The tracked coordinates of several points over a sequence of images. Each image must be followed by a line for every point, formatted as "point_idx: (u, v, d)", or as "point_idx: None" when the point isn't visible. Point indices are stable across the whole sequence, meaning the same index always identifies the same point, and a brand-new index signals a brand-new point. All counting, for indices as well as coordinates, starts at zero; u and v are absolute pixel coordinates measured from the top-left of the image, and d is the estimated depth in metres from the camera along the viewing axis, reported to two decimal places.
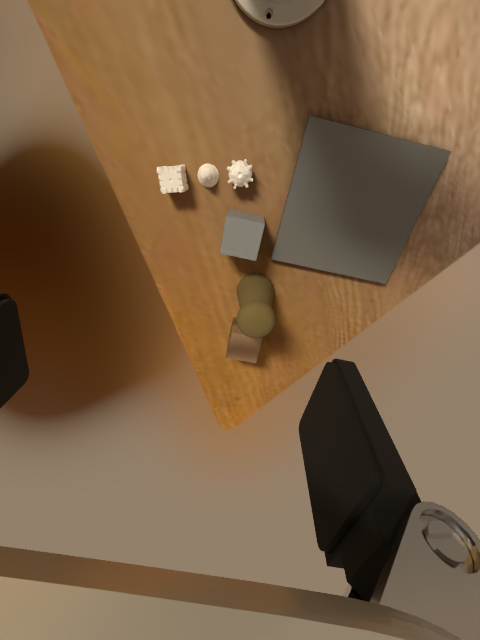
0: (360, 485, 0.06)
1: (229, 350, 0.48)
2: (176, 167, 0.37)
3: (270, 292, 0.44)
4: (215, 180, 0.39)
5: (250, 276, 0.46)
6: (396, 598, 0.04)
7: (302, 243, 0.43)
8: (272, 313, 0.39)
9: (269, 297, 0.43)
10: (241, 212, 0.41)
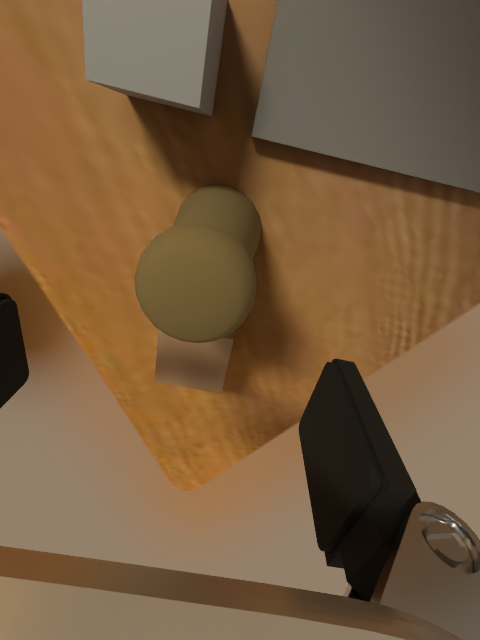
0: (360, 485, 0.06)
1: (159, 366, 0.21)
2: None
3: (249, 223, 0.17)
4: None
5: (202, 189, 0.19)
6: (396, 598, 0.04)
7: (334, 82, 0.16)
8: (245, 262, 0.12)
9: (244, 230, 0.16)
10: None
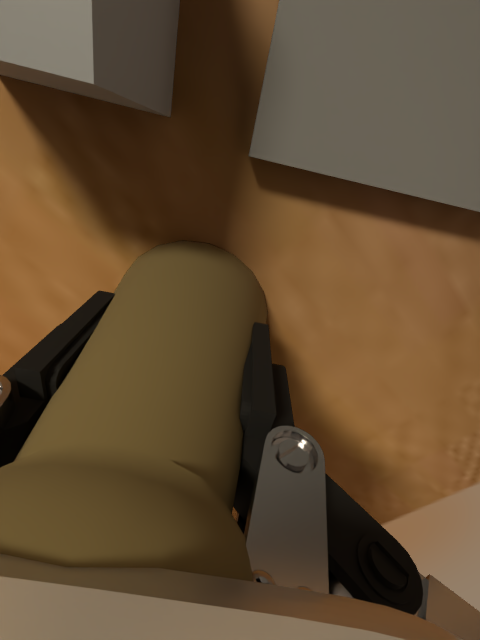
0: None
1: None
2: None
3: (245, 330, 0.08)
4: None
5: (158, 252, 0.10)
6: (260, 524, 0.05)
7: (433, 40, 0.07)
8: None
9: (233, 369, 0.07)
10: None
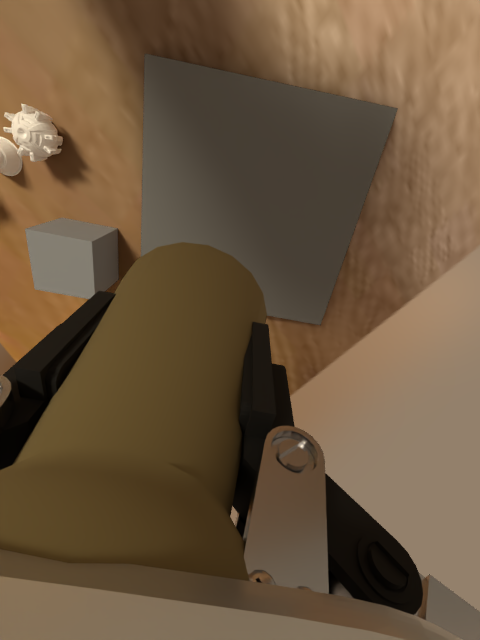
0: None
1: None
2: None
3: (244, 332, 0.08)
4: (14, 159, 0.24)
5: (158, 253, 0.10)
6: (260, 525, 0.05)
7: None
8: None
9: (232, 371, 0.07)
10: (77, 223, 0.26)
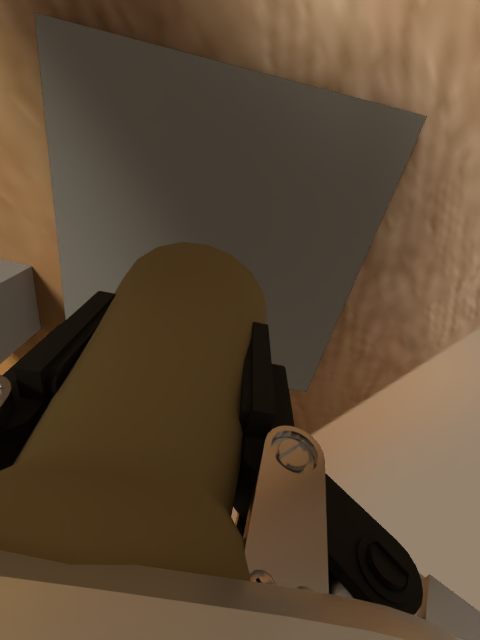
0: None
1: None
2: None
3: (244, 332, 0.08)
4: None
5: (158, 253, 0.10)
6: (260, 525, 0.05)
7: None
8: None
9: (233, 371, 0.07)
10: None
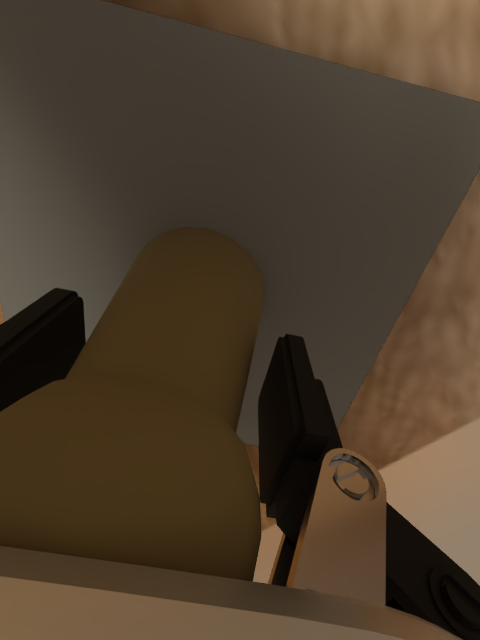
0: (287, 436, 0.06)
1: None
2: None
3: (244, 302, 0.10)
4: None
5: (166, 236, 0.11)
6: (314, 544, 0.04)
7: None
8: (226, 518, 0.04)
9: (234, 329, 0.08)
10: None
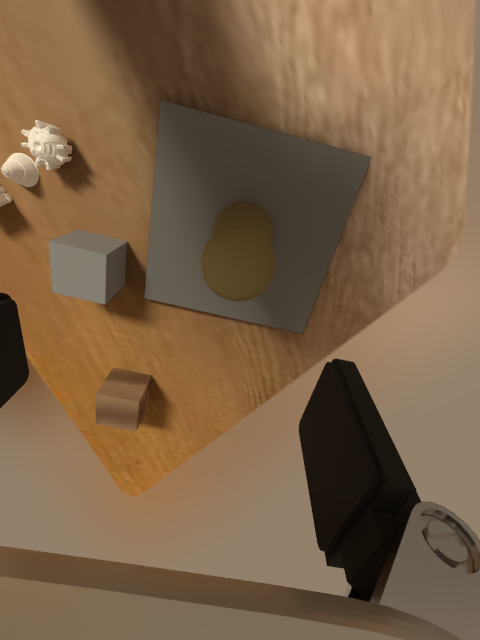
0: (360, 485, 0.06)
1: (98, 415, 0.36)
2: None
3: (267, 227, 0.25)
4: (31, 171, 0.27)
5: (234, 204, 0.27)
6: (396, 598, 0.04)
7: (182, 278, 0.31)
8: (270, 248, 0.19)
9: (265, 232, 0.24)
10: (92, 235, 0.30)
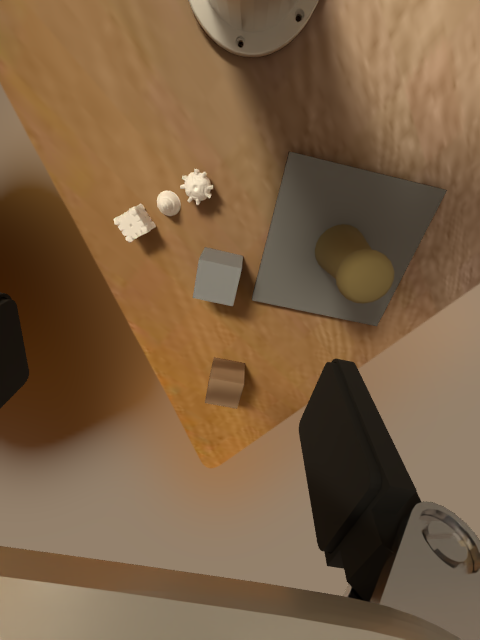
0: (360, 485, 0.06)
1: (208, 395, 0.44)
2: (130, 210, 0.33)
3: None
4: (177, 204, 0.35)
5: (337, 227, 0.35)
6: (396, 598, 0.04)
7: (285, 284, 0.39)
8: None
9: None
10: (218, 251, 0.38)
